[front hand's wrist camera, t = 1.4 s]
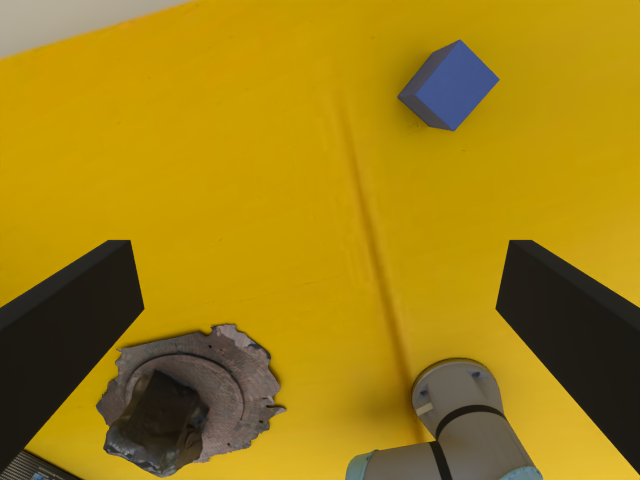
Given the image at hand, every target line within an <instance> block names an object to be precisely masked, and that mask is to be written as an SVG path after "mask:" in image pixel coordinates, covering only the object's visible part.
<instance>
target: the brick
mask: <svg viewBox="0 0 640 480" xmlns="http://www.w3.org/2000/svg"><path fill="white" fill-rule="evenodd" d="M499 80H500V79H499V78H498V77H497V76H496V75H495V74H494V73H493V72H492V71H491V70H490V69H489V68H488V67H487V66H486V65H485V64H484V63H483V62H482V61H481V60H480V59H479V58H478V57H477V56H476V55H475V54H474V53H473V52H472V51H471V50H470V49H469V48H468V47H467V46H466V45H465V44H464V43H463V42H462V41H461V40H458V41H456V42H454V43H452V44H450V45H448V46H446V47H443V48H441V49H439V50H437V51H435V52H433V53H432V54H431V55H430V57H429V58H428V59H427V60H426V62H425V63H424V64H423V65H422V67H421V68H420V69H419V70H418V72H417V73H416V74H415V75H414V77H413V78H412V79H411V80H410V82H409V83H408V84H407V85H406V87H405V88H404V89H403V90H402V92H401V93H400V94H399V95H398V97H397V98H399V99H400V100H401V101H402V102H403V103H404V104H405V105H406V106H407V107H408V108H410V109H411V110H412V111H413V112H414V113H415V114H416V115H417V116H418V117H420V118H421V119H422V120H423V121H424V122H425V123H426V124H427V125H428V126H429V127H434V128H439V129H445V130H450V131H455V130H456V128H457V127H458V126H459V125H460V124H461V123H462V122H463V121H464V119H465V118H466V117H467V116H468V115H469V114H470V113H471V112H472V110H473V109H474V108H475V107H476V106H477V105H478V104H479V103H480V101H481V100H482V99H483V98H484V97H485V96H486V95H487V93H488V92H489V91H490V90H491V89H492V88H493V87H494V86H495V84H496V83H497V82H498V81H499Z"/></svg>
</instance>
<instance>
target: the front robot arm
mask: <svg viewBox="0 0 640 480" xmlns="http://www.w3.org/2000/svg"><path fill="white" fill-rule="evenodd" d="M143 310H144V304H143V299H142V294H141V289H140V284H139V279H138V275H137V270H136V265H135V260H134V255H133V250H132V245H131V241H130V240H108V241H106V242H104V243H103V244H101V245H100V246H98V247H96V248H95V249H93V250H92V251H90V252H88V253H87V254H85V255H84V256H82V257H80V258H79V259H77V260H76V261H74V262H73V263H71V264H69V265H68V266H66V267H65V268H63V269H61V270H60V271H58V272H57V273H55V274H53V275H52V276H50V277H49V278H47V279H46V280H44V281H42V282H41V283H39V284H38V285H36V286H34V287H33V288H31V289H30V290H28V291H26V292H25V293H23V294H22V295H20V296H18V297H17V298H15V299H14V300H12V301H11V302H9V303H7V304H6V305H4V306H3V307H1V308H0V475H1V474H2V473H3V471H4V470H5V469H6V468H7V467H8V466H9V465H10V463H11V462H12V461H13V460H14V459H15V458H16V456H17V455H18V454H19V453H20V452H21V451H22V450H23V448H24V447H25V446H26V445H27V444H28V443H29V441H30V440H31V439H32V438H33V437H34V436H35V435H36V433H37V432H38V431H39V430H40V429H41V428H42V426H43V425H44V424H45V423H46V422H47V421H48V420H49V418H50V417H51V416H52V415H53V414H54V413H55V412H56V410H57V409H58V408H59V407H60V406H61V405H62V403H63V402H64V401H65V400H66V399H67V398H68V397H69V395H70V394H71V393H72V392H73V391H74V390H75V388H76V387H77V386H78V385H79V384H80V383H81V382H82V380H83V379H84V378H85V377H86V376H87V375H88V374H89V372H90V371H91V370H92V369H93V368H94V367H95V365H96V364H97V363H98V362H99V361H100V360H101V359H102V357H103V356H104V355H105V354H106V353H107V352H108V350H109V349H110V348H111V347H112V346H113V345H114V344H115V342H116V341H117V340H118V339H119V338H120V337H121V335H122V334H123V333H124V332H125V331H126V330H127V329H128V327H129V326H130V325H131V324H132V323H133V322H134V321H135V319H136V318H137V317H138V316H139V315H140V314H141V312H142V311H143ZM496 310H497V311H498V312H499V314H500V315H501V316H502V317H503V318H504V319H505V321H506V322H507V323H508V324H509V325H510V326H511V327H512V329H513V330H514V331H515V332H516V333H517V334H518V335H519V337H520V338H521V339H522V340H523V341H524V342H525V344H526V345H527V346H528V347H529V348H530V349H531V350H532V352H533V353H534V354H535V355H536V356H537V357H538V359H539V360H540V361H541V362H542V363H543V364H544V365H545V367H546V368H547V369H548V370H549V371H550V372H551V374H552V375H553V376H554V377H555V378H556V379H557V380H558V382H559V383H560V384H561V385H562V386H563V387H564V388H565V390H566V391H567V392H568V393H569V394H570V395H571V397H572V398H573V399H574V400H575V401H576V402H577V403H578V405H579V406H580V407H581V408H582V409H583V410H584V412H585V413H586V414H587V415H588V416H589V417H590V418H591V420H592V421H593V422H594V423H595V424H596V425H597V426H598V428H599V429H600V430H601V431H602V432H603V433H604V435H605V436H606V437H607V438H608V439H609V440H610V441H611V443H612V444H613V445H614V446H615V447H616V448H617V450H618V451H619V452H620V453H621V454H622V455H623V456H624V458H625V459H626V460H627V461H628V462H629V463H630V465H631V466H632V467H633V468H634V469H635V470H636V471H637V473H638V474H639V475H640V308H639V307H637V306H636V305H634V304H633V303H631V302H629V301H628V300H626V299H625V298H623V297H622V296H620V295H618V294H617V293H615V292H614V291H612V290H610V289H609V288H607V287H606V286H604V285H602V284H601V283H599V282H598V281H596V280H594V279H593V278H591V277H590V276H588V275H587V274H585V273H583V272H582V271H580V270H579V269H577V268H575V267H574V266H572V265H571V264H569V263H567V262H566V261H564V260H563V259H561V258H560V257H558V256H556V255H555V254H553V253H552V252H550V251H548V250H547V249H545V248H544V247H542V246H540V245H539V244H537V243H536V242H534V241H532V240H510V241H509V245H508V250H507V255H506V260H505V265H504V270H503V275H502V279H501V284H500V289H499V294H498V299H497V304H496ZM411 399H412V403H413V406H414V409H415V411H416V414H417V416H418V417H419V419H420V420H421V421H422V423H423V424H424V425H425V426H426V428H427V429H428V430H429V432H430V433H431V434H432V435H433V437H434V438H435V439H436V441H432V442H426V443H420V444H414V445H409V446H403V447H397V448H391V449H386V450H380V451H379V450H374V451H371V452H370V453H366V454H361V455H357V456H355V457H354V458H353V459H352V460H351V461H350V463H349V465H348V467H347V471H346V477H345V480H543V477H542V475H541V473H540V471H539V470H538V469H537V468H536V467H535V465H534V463H533V462H532V460H531V459H530V457H529V455H528V454H527V452H526V450H525V449H524V447H523V445H522V444H521V442H520V440H519V439H518V437H517V435H516V434H515V432H514V430H513V429H512V427H511V426H510V424H509V422H508V421H507V419H506V417H505V415H504V411H503V405H502V400H501V395H500V390H499V387H498V384H497V382H496V380H495V378H494V377H493V375H492V373H491V372H490V371H489V370H488V369H487V368H486V367H485V366H484V365H482V364H481V363H479V362H476V361H474V360H470V359H464V358H454V359H447V360H443V361H440V362H438V363H435V364H433V365H431V366H430V367H428V368H427V369H425V370H424V371H423V372H422V373H421V374H420V375H419V376H418V377H417V379H416V380H415V382H414V384H413V387H412V391H411Z"/></svg>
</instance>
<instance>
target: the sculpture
mask: <svg viewBox="0 0 640 480" xmlns="http://www.w3.org/2000/svg"><path fill="white" fill-rule="evenodd" d="M235 327H236V326H235V325H233V324H232V325H227V323H226V324H225V325H224V326H221V325H220V326H217V327H216V326H214V327H210V328H212V332H211V334H210V335H209V336H204V335H203V334H202V333H200V332H199V331H197V332H198V333H197V332H196V333H195V334H189V335H185V336H181V337H176V338H170V339H167V340H160V341H155V342H153V343H146V344H143V345H140V346H139V345H138V346H136V347H131V348H123V349H121V350H118V349H116V350H118V351H119V352H122V353H121V357H120V358H119V359H117V360H116V361H115V364H116V365H117V366H118V377H117V378H116V379H114V381H110V382H109V383H108V388H107V394H106V393H105V394H104V396H103V394H102V399H101V400H100V401H99V402H98V403H97V405H96V408H97V410H98V412H99V413H100V414H101V415H102V416H103V417H104V419H105V422H106V424H107V425H109V426H110V428H109V430H108V431H107V433H106V440H105V444H104V447H103V449H104V450H105V451H106V452H107V453H108V454H110V455H115V456H120V457H122V458H125V459H126V460H128V461H130V462H132V463H134V464H135V465H137V466H138V467H140V468H141V469H143V470H145V471H148V472H149V473H151V474H153V475H156V476H158V477H161V478H162V477H168V476H170V475H173V474H174V473H176V472H177V471H178V470H179V469H181V468H182V467H183V466H184V465H187V464H189V463H192V462H193V463H198V462H200V463H201V462H202V463H204V462H208V461H209V460H208V458H209V457H212V456H214V455H216V454H226V453H227V452H232V451H236V450H240V449H244V448H245V449H246V448H249V447H250V446H251V444H250V440H253V439H256V438H257V437H258V433H261V434H262V432H263V431H266V430H269V425H268V421H269V419H270V418H271V417H273V416H274V415H276V414H279V413H282V412H285V411H287V410H286V409H284V408H281V407H277V408H267V407H266V405H274V404H275V402H274V400H273V398H272V397H273V396H274V395H275V394H276V393H278V392H279V391H280V386H279V384H278V382H277V381H276V379H275V378H274V376H273V375H272V374H271V372H270V371H269V369H268V364H269V362H270V359H271V357H270V355H269V353H268V352H267V351H265V350H264V349H263V348H262V347H260V346H259V345H257V344H256V343H255V342H253V341H252V340H250V339H249V338H248V337H247V336H246V335H245V333H240V332H237V330H236V329H235ZM209 345H210V346H212V348H209ZM220 349H221V350H223V351H220ZM120 363H121V364H120ZM263 398H268V399H265V400H264V399H263ZM272 402H273V403H272ZM259 420H263V424H262V423H260V422H259ZM242 441H243V443H242ZM227 443H230V446H229V445H227Z"/></svg>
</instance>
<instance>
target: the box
mask: <svg viewBox="0 0 640 480" xmlns="http://www.w3.org/2000/svg"><path fill="white" fill-rule="evenodd" d="M0 480H79V479H77V478H75V477H73V476H71V475H69V474H67V473H65V472H63V471H61V470H59V469H57V468H55V467H53V466H51V465H49V464H48V463H46V462H43V461H41V460H39V459H38V458H36V457H34V456H32V455H30V454H28V453H26V452H24V451H21V452H20V453H19V454H18V455H17V456H16V458H15V459H14V460H13V461H12V462H11V463H10V465H9V466H8V467H7V468H6V469H5V470H4V471H3V473H2V474H1V475H0Z"/></svg>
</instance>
